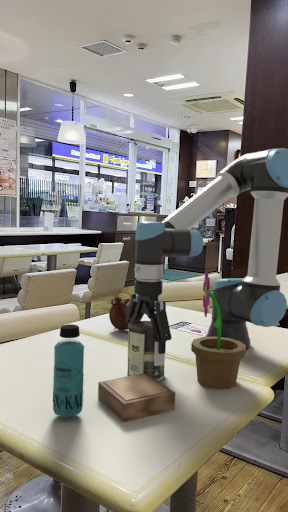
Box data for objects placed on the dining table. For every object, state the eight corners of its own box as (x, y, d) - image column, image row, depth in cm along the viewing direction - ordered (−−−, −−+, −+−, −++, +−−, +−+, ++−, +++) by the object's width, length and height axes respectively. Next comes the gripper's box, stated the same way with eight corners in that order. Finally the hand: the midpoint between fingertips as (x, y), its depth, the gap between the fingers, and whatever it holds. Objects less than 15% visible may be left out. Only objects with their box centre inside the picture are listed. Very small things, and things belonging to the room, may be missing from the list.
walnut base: (145, 388, 107) (145, 372, 107) (174, 409, 96) (175, 391, 96) (98, 398, 100) (98, 381, 100) (123, 422, 89) (124, 403, 89)
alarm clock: (138, 332, 158) (139, 292, 157) (131, 335, 154) (132, 294, 153) (115, 327, 164) (116, 289, 163) (107, 330, 160) (108, 290, 159)
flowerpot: (187, 370, 120) (192, 265, 118) (238, 372, 120) (244, 267, 117) (192, 391, 106) (197, 272, 103) (249, 394, 106) (256, 274, 103)
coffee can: (166, 371, 120) (168, 322, 118) (161, 385, 110) (163, 331, 108) (131, 367, 122) (132, 319, 120) (122, 380, 112) (123, 328, 110)
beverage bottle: (54, 410, 94) (55, 321, 92) (84, 409, 94) (86, 321, 93) (50, 424, 87) (51, 329, 86) (82, 424, 88) (84, 329, 86)
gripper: (115, 273, 122) (113, 346, 124) (161, 287, 101) (158, 374, 103) (137, 272, 126) (135, 342, 128) (187, 286, 105) (184, 369, 107)
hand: (146, 357), depth 115 cm, fingers open, 13 cm apart
